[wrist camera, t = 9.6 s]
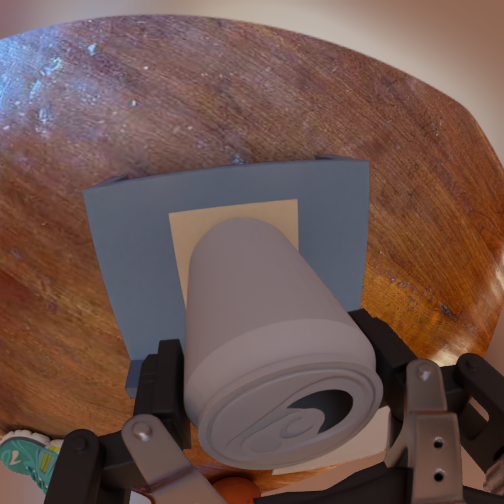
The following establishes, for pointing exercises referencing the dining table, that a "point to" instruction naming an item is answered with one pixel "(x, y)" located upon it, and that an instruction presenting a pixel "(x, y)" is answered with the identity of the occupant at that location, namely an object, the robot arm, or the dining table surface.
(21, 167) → the dining table surface
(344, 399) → the beverage can
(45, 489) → the running shoe
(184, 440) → the robot arm
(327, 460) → the book
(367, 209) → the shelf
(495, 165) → the dining table surface
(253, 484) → the fruit
